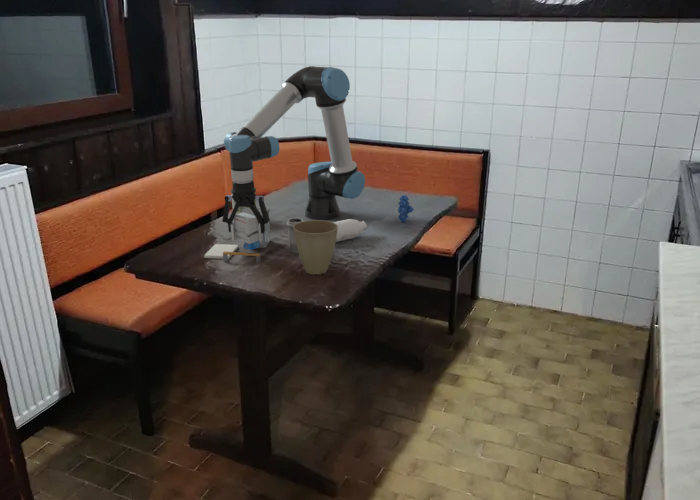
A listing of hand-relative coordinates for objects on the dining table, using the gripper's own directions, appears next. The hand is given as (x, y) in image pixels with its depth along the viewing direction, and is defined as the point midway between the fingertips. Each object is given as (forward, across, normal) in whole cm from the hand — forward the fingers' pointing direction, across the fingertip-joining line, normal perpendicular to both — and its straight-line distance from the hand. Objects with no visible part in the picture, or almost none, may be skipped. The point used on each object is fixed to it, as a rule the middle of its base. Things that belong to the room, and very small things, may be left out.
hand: (247, 240), depth 224 cm
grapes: (+7, -55, -45) cm, 72 cm away
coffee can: (+6, +12, -38) cm, 41 cm away
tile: (+5, +10, 0) cm, 12 cm away
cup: (+6, -17, -6) cm, 19 cm away
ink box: (+2, 0, 0) cm, 2 cm away
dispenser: (+5, 0, -4) cm, 7 cm away
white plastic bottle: (+6, -32, -20) cm, 38 cm away
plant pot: (+6, -27, +12) cm, 31 cm away
